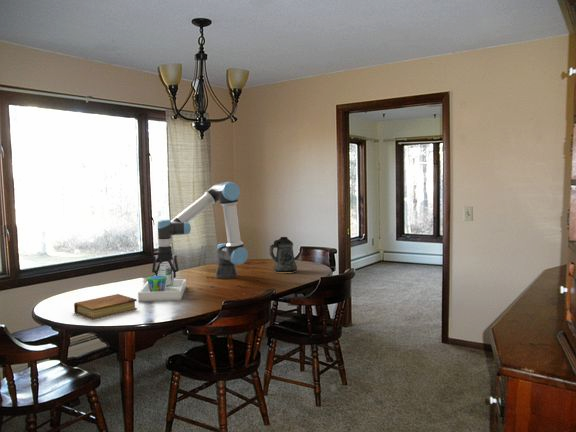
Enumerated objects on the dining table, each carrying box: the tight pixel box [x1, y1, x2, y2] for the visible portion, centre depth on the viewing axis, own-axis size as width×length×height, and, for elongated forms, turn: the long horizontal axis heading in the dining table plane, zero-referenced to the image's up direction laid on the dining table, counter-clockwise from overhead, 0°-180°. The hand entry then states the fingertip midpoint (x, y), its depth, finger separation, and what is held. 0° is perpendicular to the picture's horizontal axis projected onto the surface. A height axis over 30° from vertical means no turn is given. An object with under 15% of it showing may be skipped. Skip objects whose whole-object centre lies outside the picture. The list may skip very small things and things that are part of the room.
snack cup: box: [146, 275, 167, 292], centre depth 257 cm, size 16×10×10 cm
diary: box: [73, 293, 138, 320], centre depth 229 cm, size 23×19×6 cm
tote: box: [137, 278, 187, 303], centre depth 264 cm, size 22×32×5 cm
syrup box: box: [158, 261, 173, 288], centre depth 273 cm, size 6×6×14 cm
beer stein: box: [268, 236, 298, 272], centre depth 327 cm, size 16×19×25 cm
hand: (165, 283), depth 273 cm, fingers closed on syrup box, 8 cm apart
